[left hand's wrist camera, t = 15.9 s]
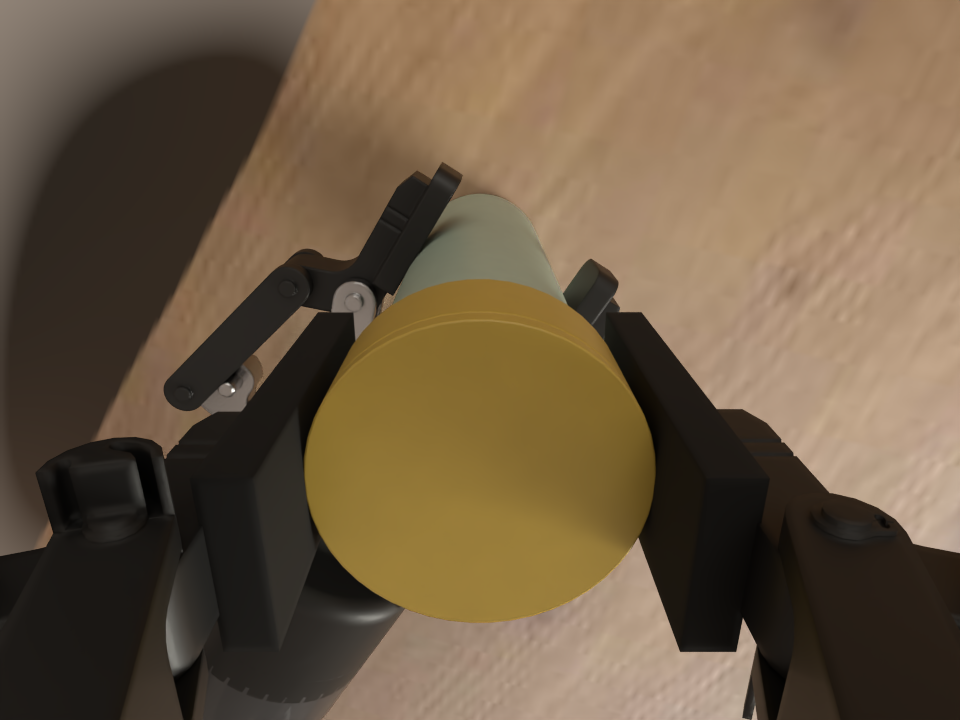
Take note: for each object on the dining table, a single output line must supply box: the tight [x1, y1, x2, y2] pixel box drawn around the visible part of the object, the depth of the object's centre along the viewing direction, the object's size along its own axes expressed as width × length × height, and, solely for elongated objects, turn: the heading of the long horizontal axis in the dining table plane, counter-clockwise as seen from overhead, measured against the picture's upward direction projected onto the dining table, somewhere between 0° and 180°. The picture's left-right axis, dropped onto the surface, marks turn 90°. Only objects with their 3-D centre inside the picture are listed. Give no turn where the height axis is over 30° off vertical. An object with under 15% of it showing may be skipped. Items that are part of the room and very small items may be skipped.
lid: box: [304, 279, 656, 623], centre depth 11 cm, size 5×5×2 cm
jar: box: [392, 194, 567, 305], centre depth 18 cm, size 5×5×16 cm
